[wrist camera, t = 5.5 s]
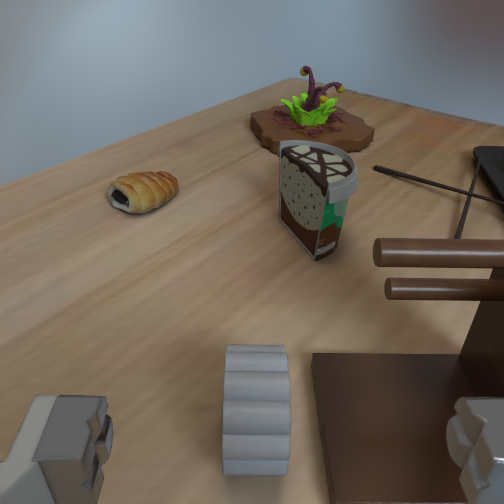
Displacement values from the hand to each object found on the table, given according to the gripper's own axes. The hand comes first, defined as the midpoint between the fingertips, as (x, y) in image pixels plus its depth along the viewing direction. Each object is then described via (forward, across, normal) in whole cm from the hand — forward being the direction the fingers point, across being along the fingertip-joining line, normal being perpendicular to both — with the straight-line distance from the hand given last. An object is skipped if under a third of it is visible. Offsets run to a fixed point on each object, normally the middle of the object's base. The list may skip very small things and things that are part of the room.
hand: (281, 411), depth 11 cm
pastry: (+49, +14, +22) cm, 55 cm away
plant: (+73, -10, +22) cm, 77 cm away
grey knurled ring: (+13, 0, +22) cm, 25 cm away
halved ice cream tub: (+41, -8, +22) cm, 48 cm away
